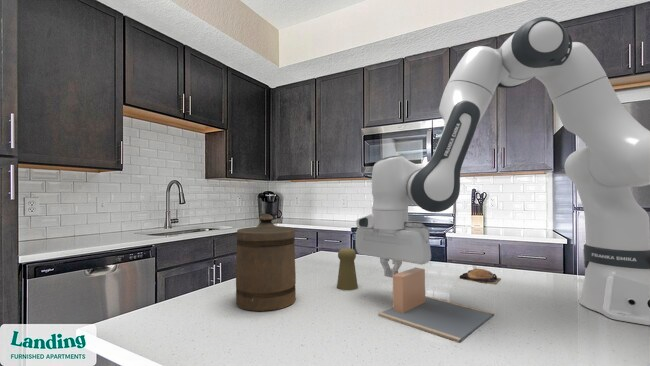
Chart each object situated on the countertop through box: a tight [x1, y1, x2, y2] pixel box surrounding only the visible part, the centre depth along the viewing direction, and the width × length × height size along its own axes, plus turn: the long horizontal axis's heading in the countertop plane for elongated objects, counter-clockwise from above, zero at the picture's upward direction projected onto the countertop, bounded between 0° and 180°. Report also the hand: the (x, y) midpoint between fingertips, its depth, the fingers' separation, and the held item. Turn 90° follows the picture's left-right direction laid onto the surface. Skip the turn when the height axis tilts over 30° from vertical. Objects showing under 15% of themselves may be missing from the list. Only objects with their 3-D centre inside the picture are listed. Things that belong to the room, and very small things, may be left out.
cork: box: [336, 247, 359, 291], centre depth 92 cm, size 6×6×11 cm
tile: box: [392, 267, 426, 313], centre depth 76 cm, size 2×10×8 cm, turn 135°
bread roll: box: [459, 268, 502, 285], centre depth 100 cm, size 11×9×4 cm
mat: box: [377, 295, 495, 343], centre depth 71 cm, size 18×18×1 cm
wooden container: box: [235, 213, 297, 312], centre depth 81 cm, size 15×15×22 cm
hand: (391, 276), depth 80 cm, fingers closed
